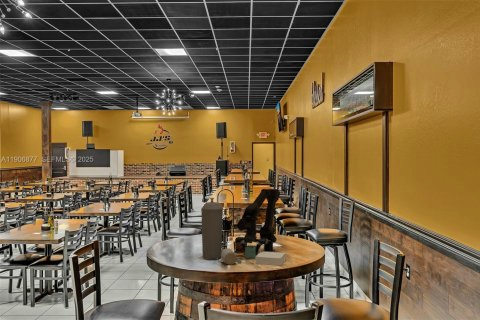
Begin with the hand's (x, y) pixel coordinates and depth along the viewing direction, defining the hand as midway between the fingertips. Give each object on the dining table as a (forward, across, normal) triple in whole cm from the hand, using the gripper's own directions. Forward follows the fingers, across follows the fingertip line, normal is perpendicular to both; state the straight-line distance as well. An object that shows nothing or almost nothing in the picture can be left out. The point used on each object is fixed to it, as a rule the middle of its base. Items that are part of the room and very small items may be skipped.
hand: (251, 254), depth 254 cm
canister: (+1, -21, -10) cm, 23 cm away
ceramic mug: (+1, -6, -18) cm, 20 cm away
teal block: (+1, 0, 0) cm, 1 cm away
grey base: (+1, +14, -9) cm, 17 cm away
